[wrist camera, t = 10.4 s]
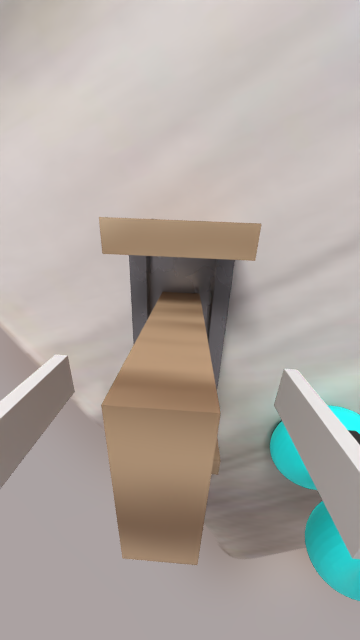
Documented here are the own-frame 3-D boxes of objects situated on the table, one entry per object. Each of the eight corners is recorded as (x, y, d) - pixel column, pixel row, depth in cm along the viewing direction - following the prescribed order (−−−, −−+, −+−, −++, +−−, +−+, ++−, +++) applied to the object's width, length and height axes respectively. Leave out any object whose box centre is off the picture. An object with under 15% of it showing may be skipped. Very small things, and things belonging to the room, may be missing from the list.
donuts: (512, 523, 10) (499, 604, 13) (355, 385, 19) (370, 452, 22) (303, 555, 12) (336, 618, 15) (253, 416, 21) (280, 473, 24)
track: (134, 248, 15) (128, 249, 14) (231, 253, 15) (235, 254, 14) (140, 396, 21) (136, 407, 19) (212, 400, 20) (213, 412, 19)
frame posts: (133, 225, 15) (98, 217, 9) (234, 230, 15) (261, 223, 9) (141, 408, 21) (123, 467, 16) (210, 412, 21) (218, 474, 16)
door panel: (161, 291, 16) (97, 404, 5) (200, 293, 16) (224, 413, 5) (160, 373, 19) (120, 558, 8) (194, 375, 19) (199, 565, 8)
